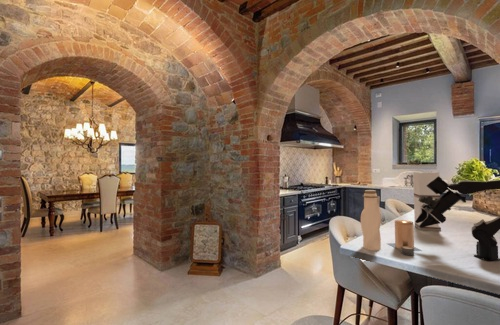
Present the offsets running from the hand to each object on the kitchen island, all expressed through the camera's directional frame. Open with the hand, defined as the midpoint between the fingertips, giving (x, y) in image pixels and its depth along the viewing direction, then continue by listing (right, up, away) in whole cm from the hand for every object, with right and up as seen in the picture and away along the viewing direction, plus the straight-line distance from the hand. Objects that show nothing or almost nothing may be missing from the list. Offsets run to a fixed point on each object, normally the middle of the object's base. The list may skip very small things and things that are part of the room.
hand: (417, 224), depth 121 cm
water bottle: (-20, -13, +4) cm, 24 cm away
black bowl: (-9, -12, -6) cm, 16 cm away
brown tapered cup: (-5, -12, +2) cm, 13 cm away
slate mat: (-5, -12, +4) cm, 13 cm away
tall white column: (+31, -12, +39) cm, 52 cm away
